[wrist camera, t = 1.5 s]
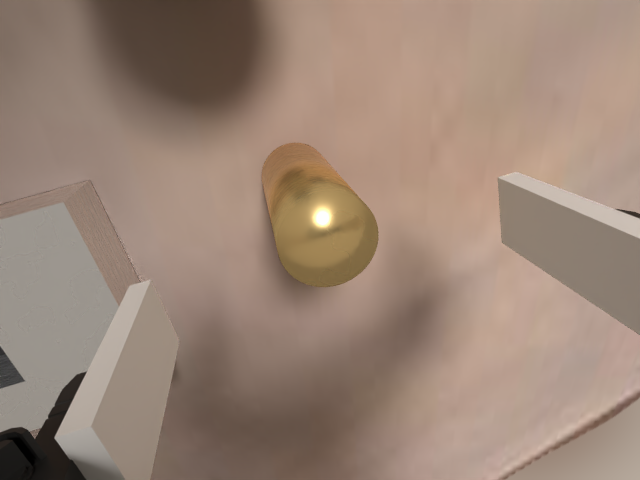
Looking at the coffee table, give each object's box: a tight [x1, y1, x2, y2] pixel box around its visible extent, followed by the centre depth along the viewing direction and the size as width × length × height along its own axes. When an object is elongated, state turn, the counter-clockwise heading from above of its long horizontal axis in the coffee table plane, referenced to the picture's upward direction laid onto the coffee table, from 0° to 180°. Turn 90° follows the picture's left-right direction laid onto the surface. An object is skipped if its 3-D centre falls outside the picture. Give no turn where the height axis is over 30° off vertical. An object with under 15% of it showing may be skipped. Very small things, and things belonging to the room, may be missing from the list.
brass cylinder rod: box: [262, 143, 378, 287], centre depth 21 cm, size 4×4×10 cm
